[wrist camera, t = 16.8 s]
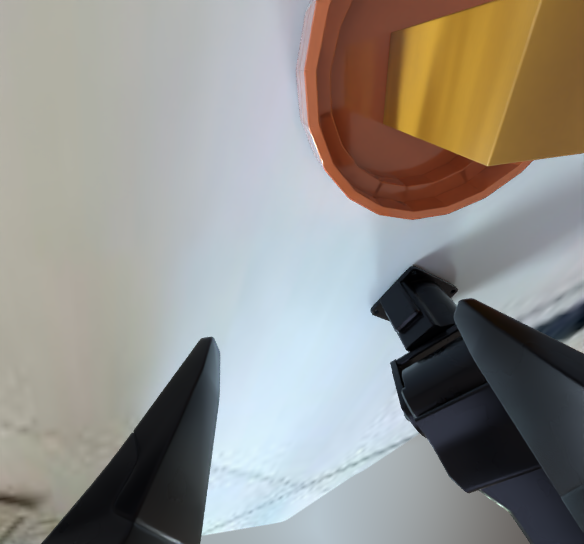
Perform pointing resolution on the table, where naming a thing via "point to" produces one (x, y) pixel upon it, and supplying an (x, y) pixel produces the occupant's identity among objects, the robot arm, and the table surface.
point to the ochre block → (492, 81)
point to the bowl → (379, 113)
